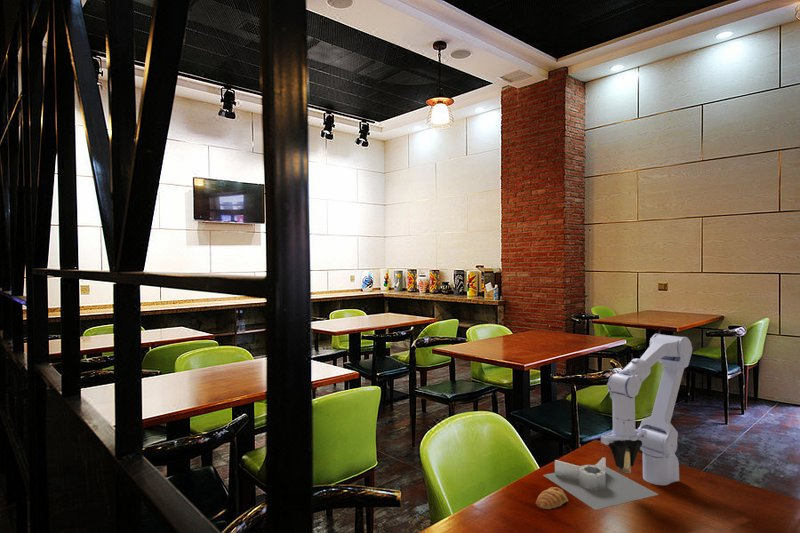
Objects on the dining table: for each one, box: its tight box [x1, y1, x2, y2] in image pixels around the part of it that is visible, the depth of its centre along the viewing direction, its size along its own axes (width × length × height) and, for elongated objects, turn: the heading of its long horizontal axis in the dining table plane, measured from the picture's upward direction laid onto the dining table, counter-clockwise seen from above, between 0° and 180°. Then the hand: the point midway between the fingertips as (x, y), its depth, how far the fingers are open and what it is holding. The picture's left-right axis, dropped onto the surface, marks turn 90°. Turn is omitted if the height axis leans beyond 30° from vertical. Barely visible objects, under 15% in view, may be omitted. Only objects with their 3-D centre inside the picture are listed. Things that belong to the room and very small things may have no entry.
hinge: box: [554, 457, 607, 492], centre depth 141 cm, size 16×13×4 cm
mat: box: [542, 463, 659, 511], centre depth 138 cm, size 22×22×1 cm
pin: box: [618, 448, 632, 474], centre depth 132 cm, size 3×3×6 cm
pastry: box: [535, 486, 569, 510], centre depth 128 cm, size 9×7×4 cm
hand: (624, 466), depth 132 cm, fingers closed on pin, 3 cm apart
